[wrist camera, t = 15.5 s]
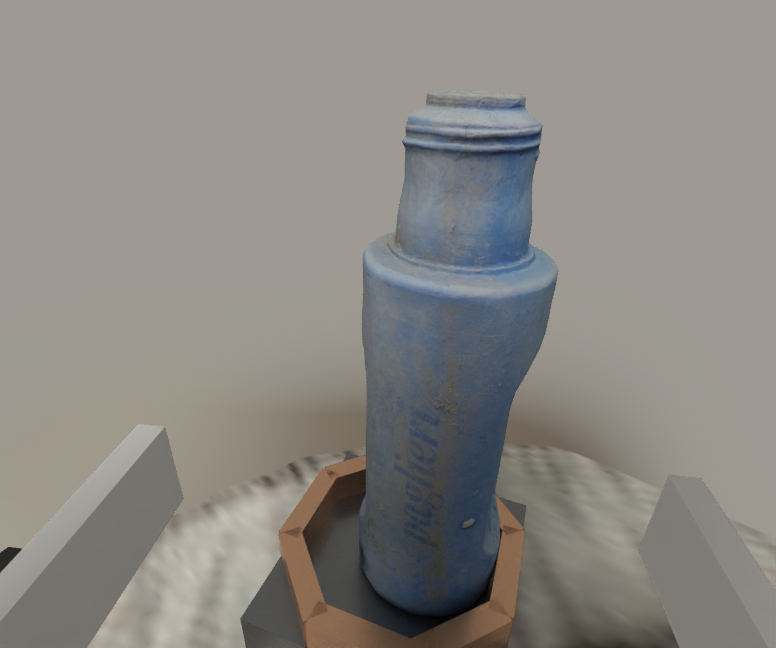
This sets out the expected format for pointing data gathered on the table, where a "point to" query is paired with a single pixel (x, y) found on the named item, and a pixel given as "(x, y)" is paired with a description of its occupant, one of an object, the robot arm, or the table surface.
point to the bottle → (449, 347)
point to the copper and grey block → (366, 581)
